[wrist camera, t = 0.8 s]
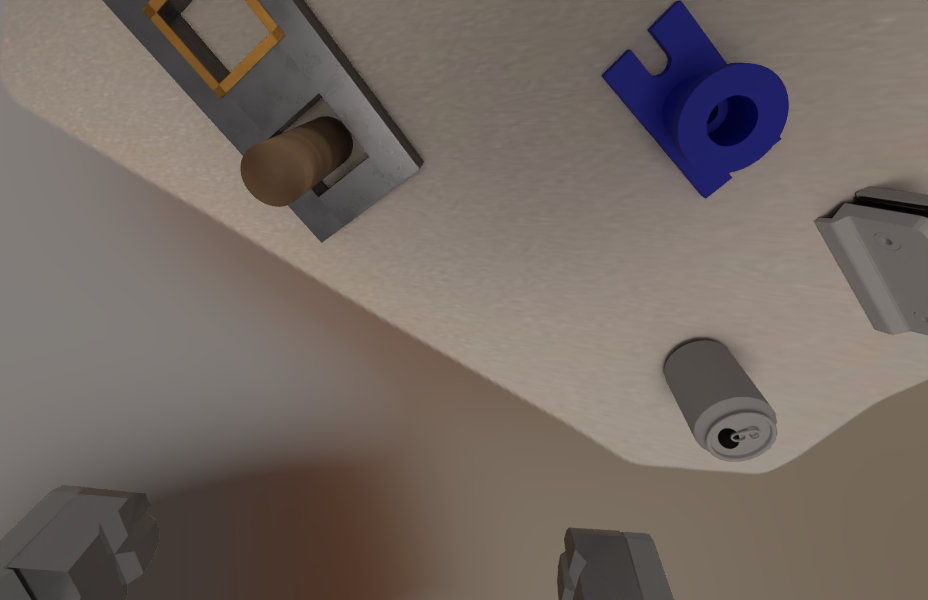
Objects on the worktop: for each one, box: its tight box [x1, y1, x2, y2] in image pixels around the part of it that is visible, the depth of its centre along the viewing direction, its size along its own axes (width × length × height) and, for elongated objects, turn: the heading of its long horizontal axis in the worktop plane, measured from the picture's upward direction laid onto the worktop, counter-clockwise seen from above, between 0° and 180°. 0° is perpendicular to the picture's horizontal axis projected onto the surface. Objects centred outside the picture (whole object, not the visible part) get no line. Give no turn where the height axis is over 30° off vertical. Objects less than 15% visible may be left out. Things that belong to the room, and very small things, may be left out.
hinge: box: [814, 187, 928, 335], centre depth 43 cm, size 17×5×10 cm, turn 41°
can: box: [664, 340, 777, 462], centre depth 49 cm, size 8×8×12 cm
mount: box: [602, 0, 789, 199], centre depth 38 cm, size 15×8×9 cm, turn 46°
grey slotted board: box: [103, 0, 424, 243], centre depth 41 cm, size 12×26×3 cm, turn 36°
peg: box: [241, 116, 353, 207], centre depth 39 cm, size 4×4×13 cm
